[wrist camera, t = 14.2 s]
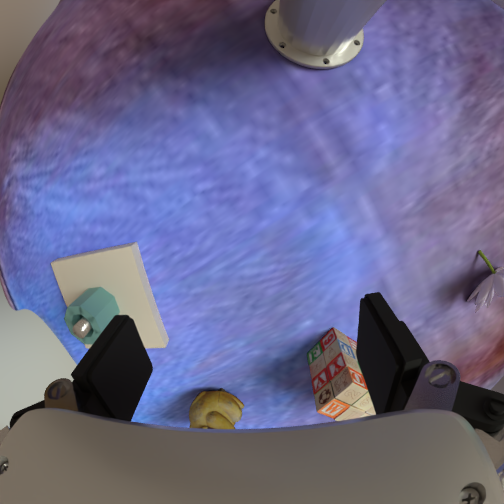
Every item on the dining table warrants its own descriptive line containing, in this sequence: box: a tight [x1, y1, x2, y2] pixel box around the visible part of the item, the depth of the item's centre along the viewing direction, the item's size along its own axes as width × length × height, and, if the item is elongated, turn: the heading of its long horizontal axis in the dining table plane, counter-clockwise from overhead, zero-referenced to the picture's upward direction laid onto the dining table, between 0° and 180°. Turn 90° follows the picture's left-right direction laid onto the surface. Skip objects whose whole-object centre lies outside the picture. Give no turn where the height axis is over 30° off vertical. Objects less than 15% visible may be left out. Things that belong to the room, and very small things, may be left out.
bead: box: [64, 287, 120, 344], centre depth 35 cm, size 6×6×6 cm
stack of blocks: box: [307, 327, 376, 421], centre depth 36 cm, size 21×6×12 cm, turn 55°
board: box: [51, 242, 169, 348], centre depth 35 cm, size 16×16×10 cm
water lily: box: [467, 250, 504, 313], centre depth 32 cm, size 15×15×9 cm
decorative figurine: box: [189, 388, 244, 429], centre depth 38 cm, size 10×8×15 cm
